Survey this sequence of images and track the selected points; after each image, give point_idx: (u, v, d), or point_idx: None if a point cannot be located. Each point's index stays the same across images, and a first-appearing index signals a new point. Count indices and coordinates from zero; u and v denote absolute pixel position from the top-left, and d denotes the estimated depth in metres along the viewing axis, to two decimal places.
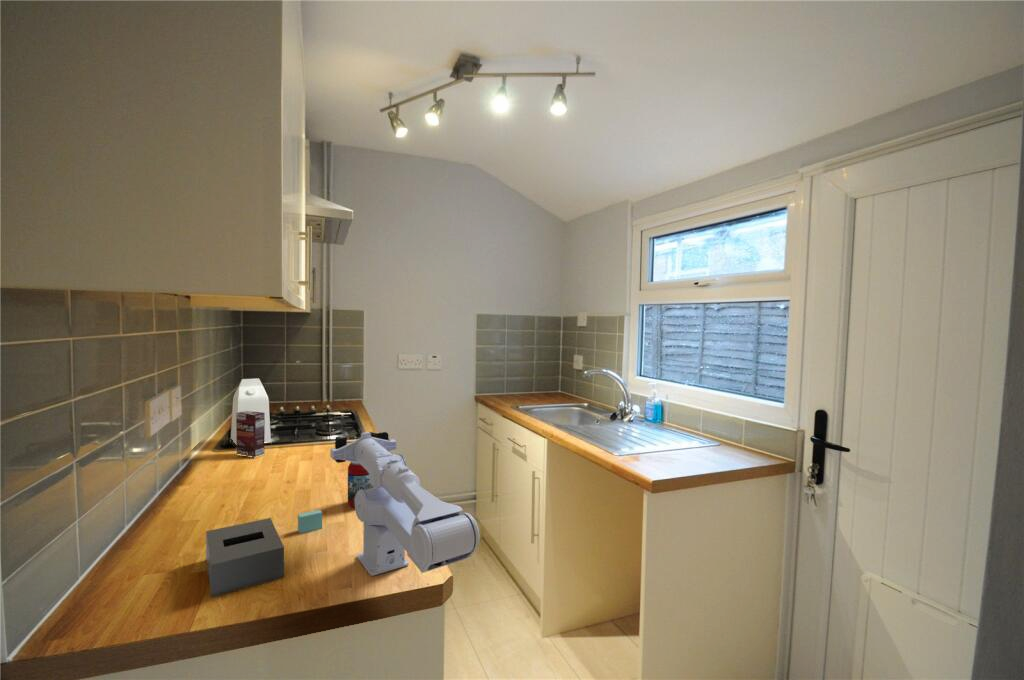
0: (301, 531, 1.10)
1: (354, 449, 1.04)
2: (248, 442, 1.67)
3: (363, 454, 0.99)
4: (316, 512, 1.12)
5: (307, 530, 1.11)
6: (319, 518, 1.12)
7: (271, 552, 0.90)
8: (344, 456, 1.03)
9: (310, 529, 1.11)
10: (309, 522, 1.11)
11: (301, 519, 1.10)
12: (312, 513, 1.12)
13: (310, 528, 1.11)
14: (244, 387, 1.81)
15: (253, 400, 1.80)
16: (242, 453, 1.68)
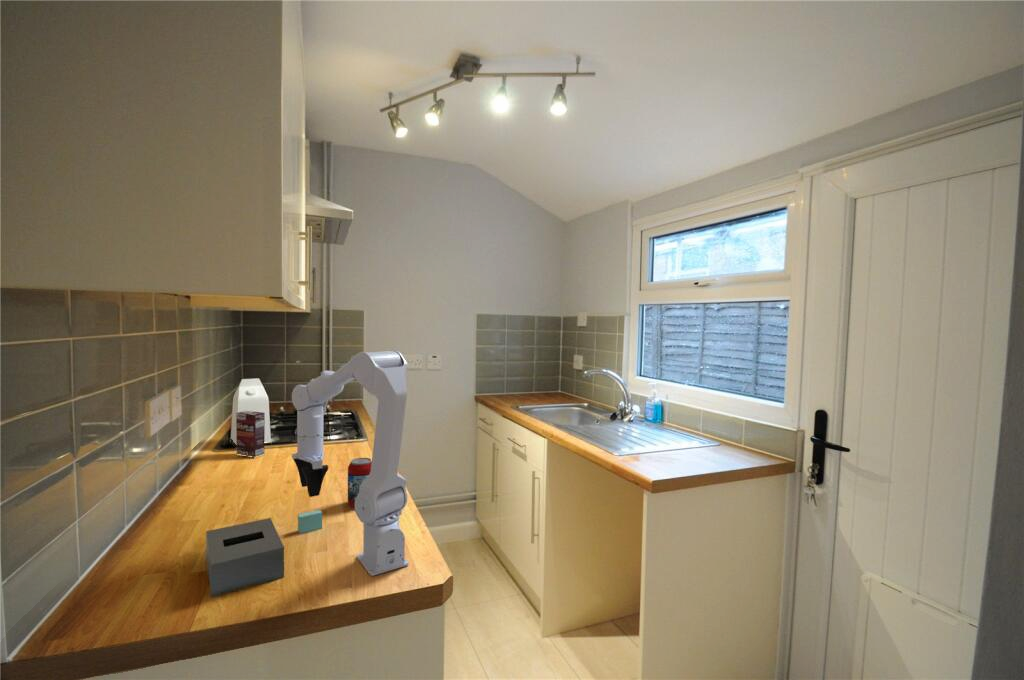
0: (301, 531, 1.10)
1: (309, 454, 1.08)
2: (248, 442, 1.67)
3: (297, 429, 1.10)
4: (316, 512, 1.12)
5: (307, 530, 1.11)
6: (319, 518, 1.12)
7: (271, 552, 0.90)
8: (318, 458, 1.08)
9: (310, 529, 1.11)
10: (309, 522, 1.11)
11: (301, 519, 1.10)
12: (312, 513, 1.12)
13: (310, 528, 1.11)
14: (244, 387, 1.81)
15: (253, 400, 1.80)
16: (242, 453, 1.68)
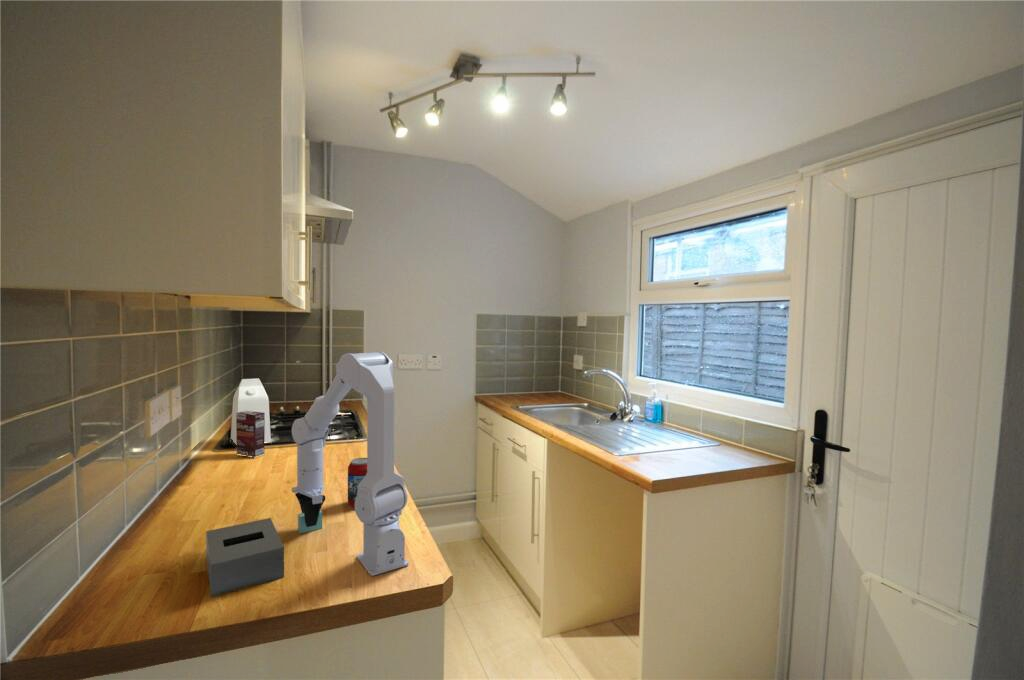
0: (301, 531, 1.10)
1: (309, 488, 1.09)
2: (248, 442, 1.67)
3: (297, 463, 1.10)
4: None
5: (307, 530, 1.11)
6: (320, 517, 1.12)
7: (271, 552, 0.90)
8: (318, 492, 1.08)
9: (310, 529, 1.11)
10: None
11: (301, 519, 1.10)
12: None
13: (310, 528, 1.11)
14: (244, 387, 1.81)
15: (253, 400, 1.80)
16: (242, 453, 1.68)
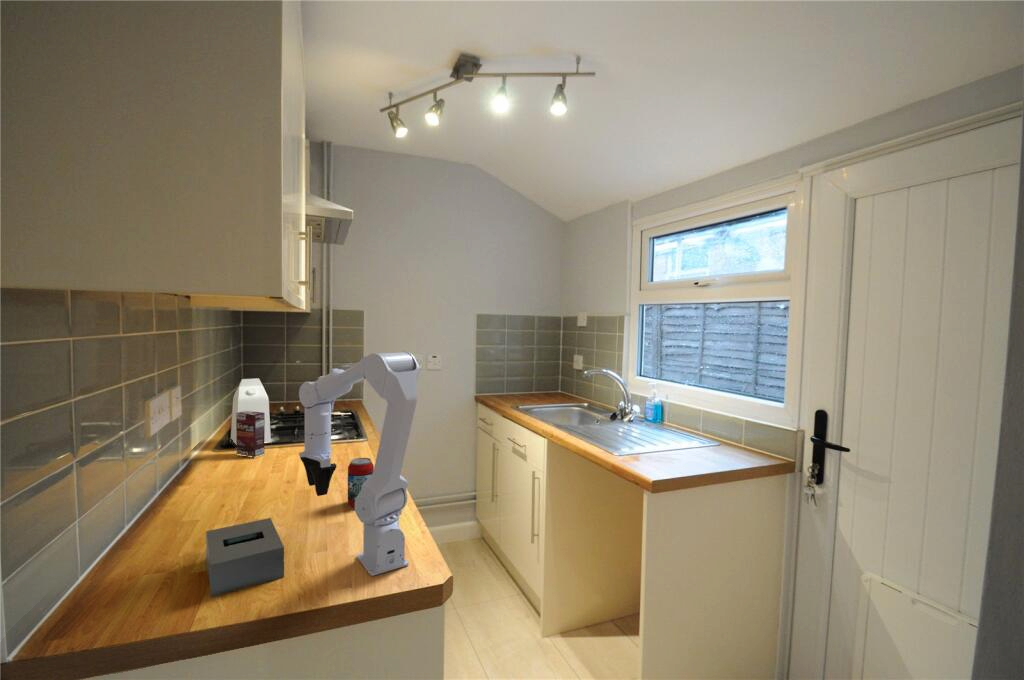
0: None
1: (317, 452, 1.07)
2: (248, 442, 1.67)
3: None
4: None
5: None
6: None
7: (271, 552, 0.90)
8: (326, 456, 1.06)
9: None
10: None
11: None
12: None
13: None
14: (244, 387, 1.81)
15: (253, 400, 1.80)
16: (242, 453, 1.68)
